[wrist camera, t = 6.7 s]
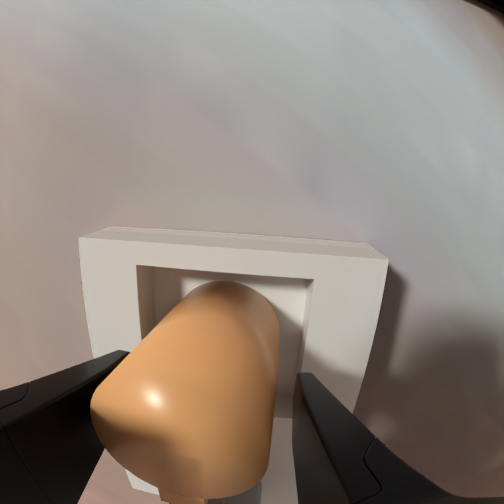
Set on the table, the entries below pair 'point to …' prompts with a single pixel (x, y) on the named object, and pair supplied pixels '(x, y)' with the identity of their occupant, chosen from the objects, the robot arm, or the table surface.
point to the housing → (265, 283)
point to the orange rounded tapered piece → (196, 397)
